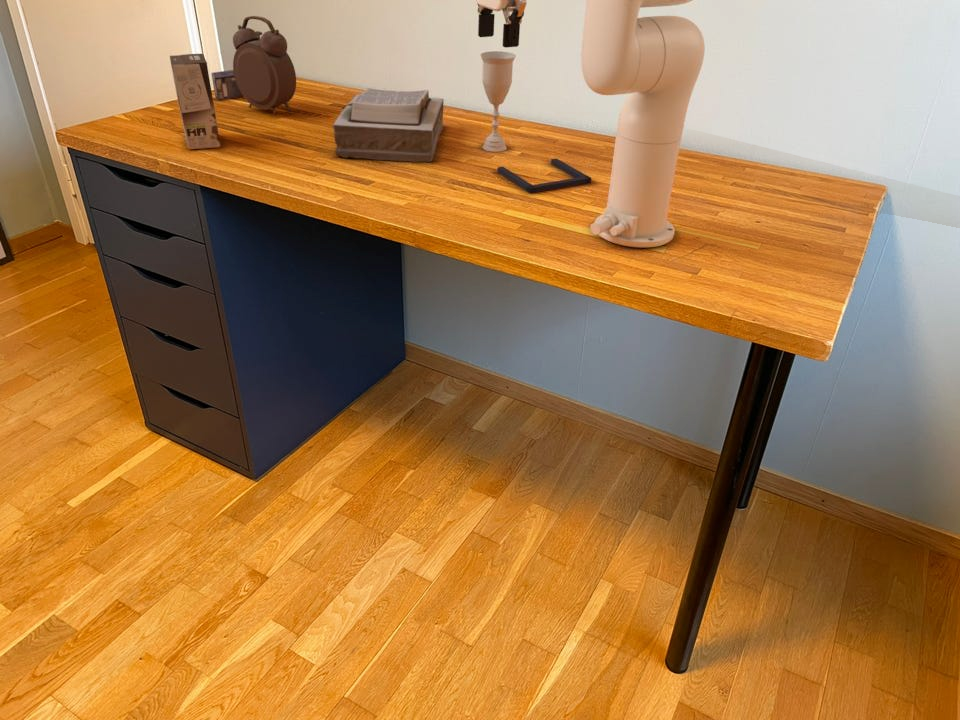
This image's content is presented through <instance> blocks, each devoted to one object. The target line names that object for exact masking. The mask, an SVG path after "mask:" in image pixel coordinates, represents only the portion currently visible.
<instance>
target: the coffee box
mask: <svg viewBox="0 0 960 720" xmlns="http://www.w3.org/2000/svg"><path fill="white" fill-rule="evenodd" d="M169 61H170V66H171V72H172V76H173V77H172V78H173V83H174V86H175V87H174V88H175V92H176V93H175V94H176V97H177V103H178V107H179V113H180V119H181V123H182V126H183V133H184V136H185V140H186V145H187V149H188V150H198V149H199V150H201V149H213V148H220V147H221V141H220V134H219V129H218V122H217V116H216V110H215V103H214V98H213V91H212V86H211V80H210V74H209V68H208V62H207V59H206V58H205V55H204V53H186V54H179V55H178V54H177V55H176V54H175V55H169Z"/></svg>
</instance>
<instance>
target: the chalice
mask: <svg viewBox="0 0 960 720" xmlns="http://www.w3.org/2000/svg"><path fill="white" fill-rule="evenodd" d="M516 57H517V56H516V54H515V53H513V52H509V51H498V50H497V51H491V50H490V51H485V52H481V53H480V58H481V60H482V78H481V79H482V80H481V81H482V82H481V83H482V85H483V89H484V92H485V95H486V97H487V100H488V102H489V104H491V105H492V106H493V111H492V113H491V116H492V119H493V120H492V121H491V126H492V132H491V134H489V135H487V137H486V138H485V141H484V143H483V145H482V146H481V147H482V149H483V150H484V151H487V152H491V153H492V152H494V153H497V152H499V153H500V152H503V151H504V152H505V151H506V150H507V146H506V142H505V139H504V137H503V136H502V135H500V133H499V132H498V129H499V126H500V124H501V123H500V122H499V116H500V112H499V107H500V105H502V104H504V102H505V100H506V98H507V95H508V94H509V92H510V89H511V86H512V82H513V66H514V65H513V64H514V60H515V59H516Z"/></svg>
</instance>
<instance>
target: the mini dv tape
mask: <svg viewBox="0 0 960 720" xmlns="http://www.w3.org/2000/svg"><path fill="white" fill-rule="evenodd" d="M211 80H212V85H213V94H214V98H215V100H217V101H222V100H229V99H236V98H242V97H243V98H244V96H243V95H242V94H241V92H240V90H239V88H238V86H237V83H236V80H235V77H234V71H233V69H230V70H229V69H228V70H222V71H215V72H214V71H213V72H211Z"/></svg>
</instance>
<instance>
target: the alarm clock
mask: <svg viewBox="0 0 960 720" xmlns="http://www.w3.org/2000/svg"><path fill="white" fill-rule="evenodd" d="M250 20H256V21H261V22H263V23H264V24H266V25H267V26H268V29H269V30H267V31H265V32H264V33H263V32H262V31H260V30H254V29H252V28H250V27H247V26H248V24H249V23H248V22H249V21H250ZM242 21H243V22H242V25H241V24H238V25H237V29H238V30H237V31H236V32H234V34H233V37H232V43H233V47H234V49H235V52H234V55H233V59H232V70H233V71H234V77H235V80H236V83H237V86H238V88H239V90H240V92H241V94H242V95H243V98H244V100H245V101H247V103H249V105H248V108H249V109H252V107H254V108H255V109H259V110H270V109H272V111H273V114H274V115H277V111H276V108H278V107H280V106H282V105H283V106H285V108H286V109H287V112H288V113H291V109H290V106H289V103H288V102H290V101H291V100H292V99H293V97H294V96H295V93H296V88H297V75H296V69H295V66H294V63H293V60H292V58H291V57H290V55H289V54H288V52H287V51H288V42H287V39H286V38H285V36H284V35H283V34H282V33H280V30H279V29H275V27H274V25H273V23H272V21H271V20H269V19H268V18H266V17H263V16H259V15H250V16H246V17H244V19H243V20H242Z"/></svg>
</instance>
